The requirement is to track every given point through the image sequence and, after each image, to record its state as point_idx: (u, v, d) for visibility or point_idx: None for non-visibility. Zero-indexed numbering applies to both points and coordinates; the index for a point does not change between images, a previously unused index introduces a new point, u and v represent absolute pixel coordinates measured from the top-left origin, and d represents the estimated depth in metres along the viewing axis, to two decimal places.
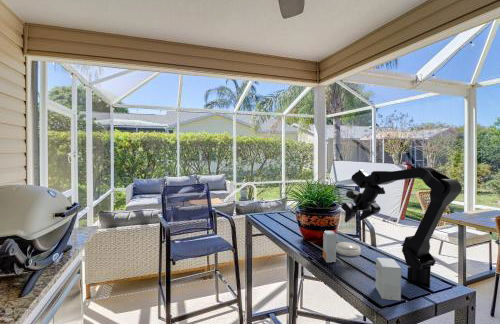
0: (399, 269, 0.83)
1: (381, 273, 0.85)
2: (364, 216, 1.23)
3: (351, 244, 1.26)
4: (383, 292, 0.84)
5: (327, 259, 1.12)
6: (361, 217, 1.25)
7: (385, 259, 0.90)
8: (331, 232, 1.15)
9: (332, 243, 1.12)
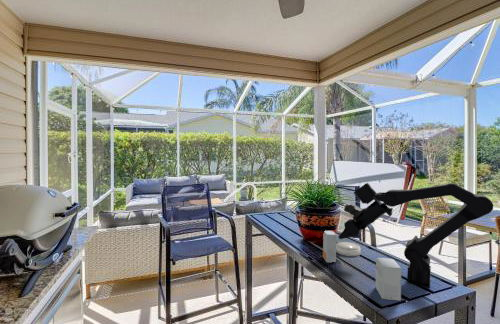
0: (399, 269, 0.83)
1: (381, 273, 0.85)
2: None
3: (351, 244, 1.26)
4: (383, 292, 0.84)
5: (327, 259, 1.12)
6: None
7: (385, 259, 0.90)
8: (331, 232, 1.15)
9: (332, 243, 1.12)
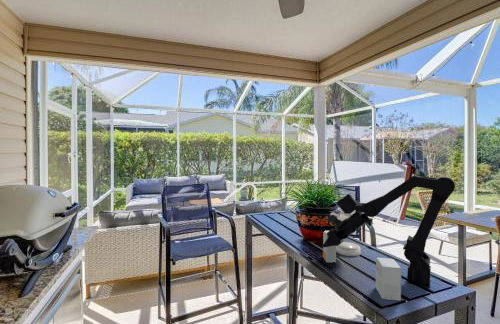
0: (399, 269, 0.83)
1: (381, 273, 0.85)
2: None
3: (351, 244, 1.26)
4: (383, 292, 0.84)
5: (327, 259, 1.12)
6: None
7: (385, 259, 0.90)
8: None
9: None
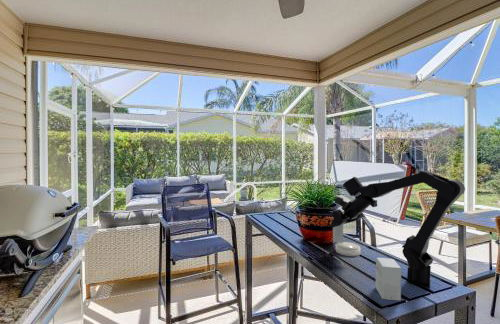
0: (399, 269, 0.83)
1: (381, 273, 0.85)
2: None
3: (351, 244, 1.26)
4: (383, 292, 0.84)
5: (334, 239, 1.18)
6: None
7: (385, 259, 0.90)
8: None
9: None
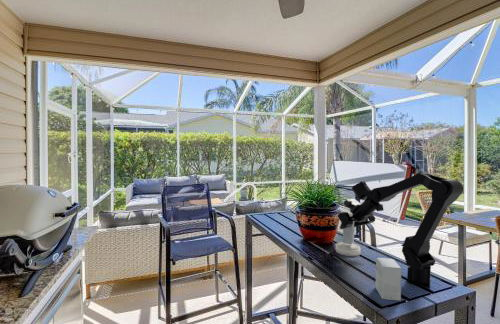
0: (399, 269, 0.83)
1: (381, 273, 0.85)
2: (356, 224, 1.25)
3: None
4: (383, 292, 0.84)
5: (343, 240, 1.23)
6: (354, 224, 1.26)
7: (385, 259, 0.90)
8: None
9: None
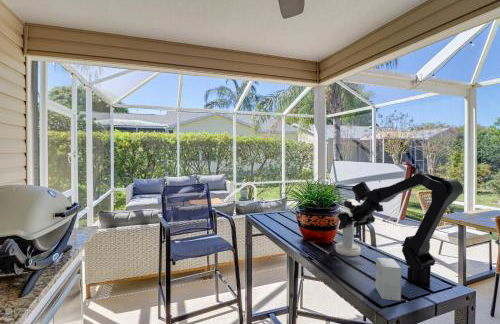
0: (399, 269, 0.83)
1: (381, 273, 0.85)
2: (357, 224, 1.26)
3: None
4: (383, 292, 0.84)
5: (343, 244, 1.23)
6: (355, 224, 1.27)
7: (385, 259, 0.90)
8: None
9: (348, 229, 1.22)
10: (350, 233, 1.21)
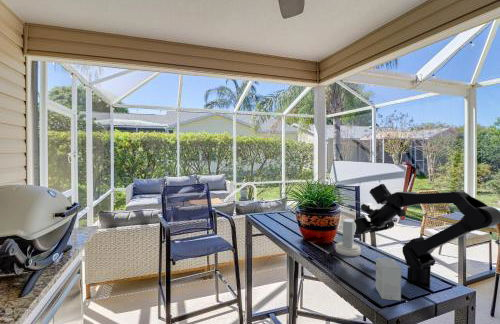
0: (399, 269, 0.83)
1: (381, 273, 0.85)
2: (375, 229, 1.17)
3: None
4: (383, 292, 0.84)
5: (343, 244, 1.23)
6: (372, 229, 1.19)
7: (385, 259, 0.90)
8: (350, 220, 1.24)
9: (348, 229, 1.22)
10: (350, 233, 1.21)
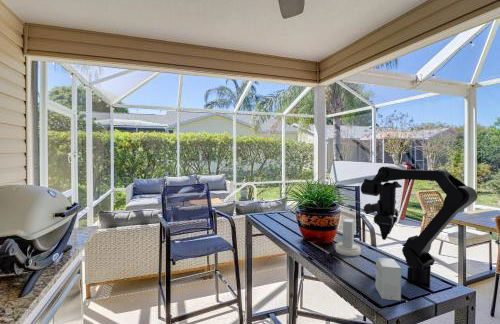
0: (399, 269, 0.83)
1: (381, 273, 0.85)
2: None
3: None
4: (383, 292, 0.84)
5: (343, 244, 1.23)
6: None
7: (385, 259, 0.90)
8: (350, 220, 1.24)
9: (348, 229, 1.22)
10: (350, 233, 1.21)
